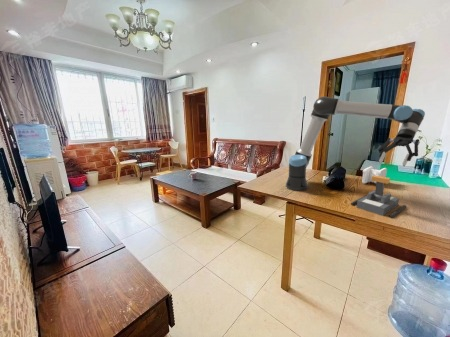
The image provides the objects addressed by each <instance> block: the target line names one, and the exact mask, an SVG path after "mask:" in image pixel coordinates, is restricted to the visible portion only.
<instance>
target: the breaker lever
mask: <svg viewBox="0 0 450 337" xmlns="http://www.w3.org/2000/svg"><path fill="white" fill-rule="evenodd" d="M372 181H376V183H375V190H376V191H375V194H374V197H375V198H379V199H381V197H382V196H384V195H385V194H384V191H385V184H387V185H388V184H389V183H390V182H391V177H382V176H376V175H374V176H372Z"/></svg>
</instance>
